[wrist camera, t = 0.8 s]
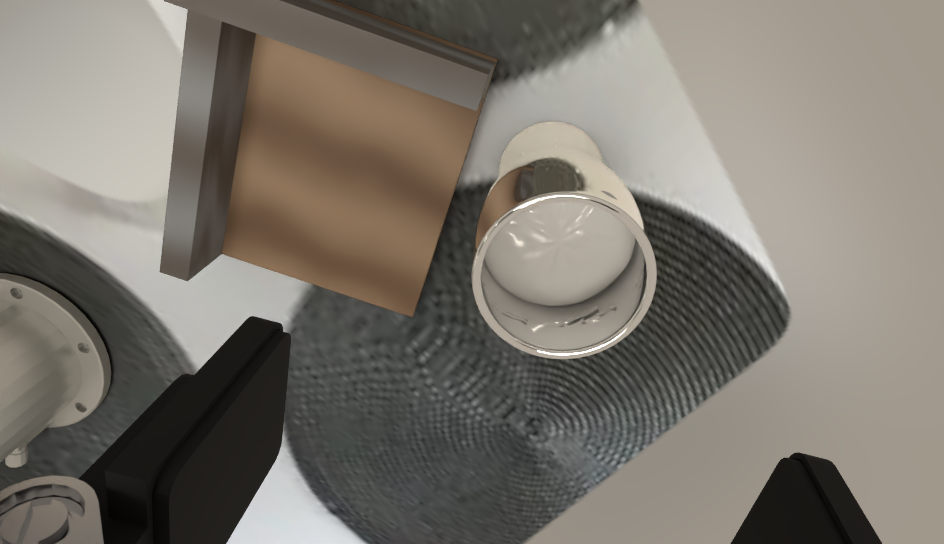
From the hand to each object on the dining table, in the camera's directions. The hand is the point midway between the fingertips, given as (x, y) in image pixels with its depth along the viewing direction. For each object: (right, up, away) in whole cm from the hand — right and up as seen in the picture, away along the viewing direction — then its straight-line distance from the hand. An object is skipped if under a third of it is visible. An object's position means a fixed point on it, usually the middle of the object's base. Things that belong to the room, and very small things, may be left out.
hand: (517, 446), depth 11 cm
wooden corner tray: (-9, +10, +24) cm, 28 cm away
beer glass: (+4, +9, +24) cm, 26 cm away
